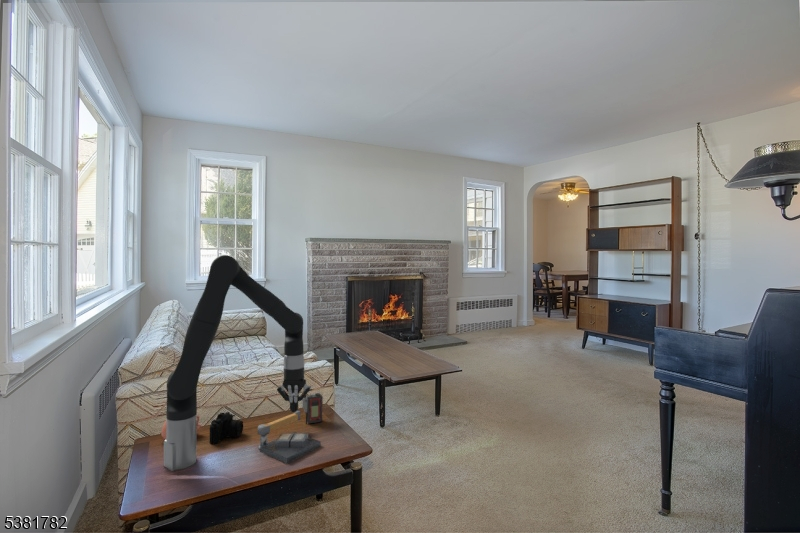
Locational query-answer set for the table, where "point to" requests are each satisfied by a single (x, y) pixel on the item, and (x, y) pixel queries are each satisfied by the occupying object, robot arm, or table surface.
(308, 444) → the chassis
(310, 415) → the walkie-talkie
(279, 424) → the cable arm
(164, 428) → the sugar bowl
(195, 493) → the table surface
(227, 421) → the film camera
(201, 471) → the table surface
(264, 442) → the post
